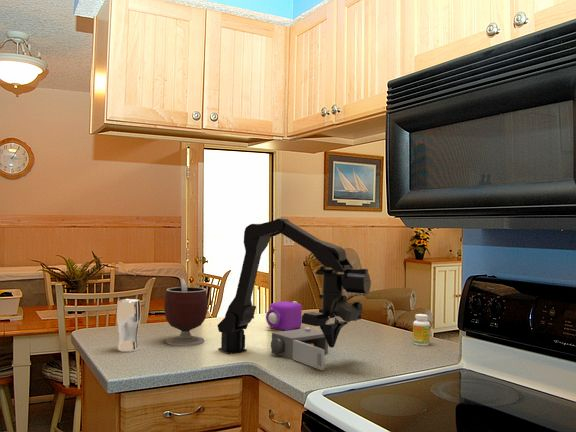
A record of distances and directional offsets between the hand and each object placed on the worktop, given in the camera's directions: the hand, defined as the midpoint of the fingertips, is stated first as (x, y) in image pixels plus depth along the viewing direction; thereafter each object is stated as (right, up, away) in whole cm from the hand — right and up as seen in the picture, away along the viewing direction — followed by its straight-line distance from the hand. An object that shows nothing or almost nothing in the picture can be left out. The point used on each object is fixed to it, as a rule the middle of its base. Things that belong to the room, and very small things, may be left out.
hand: (331, 347), depth 156 cm
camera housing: (-9, -5, +14) cm, 17 cm away
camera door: (-7, -5, -1) cm, 8 cm away
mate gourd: (-46, -5, +27) cm, 54 cm away
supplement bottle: (+32, -6, +30) cm, 45 cm away
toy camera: (-14, -6, +52) cm, 54 cm away
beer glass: (-61, -4, +14) cm, 62 cm away
